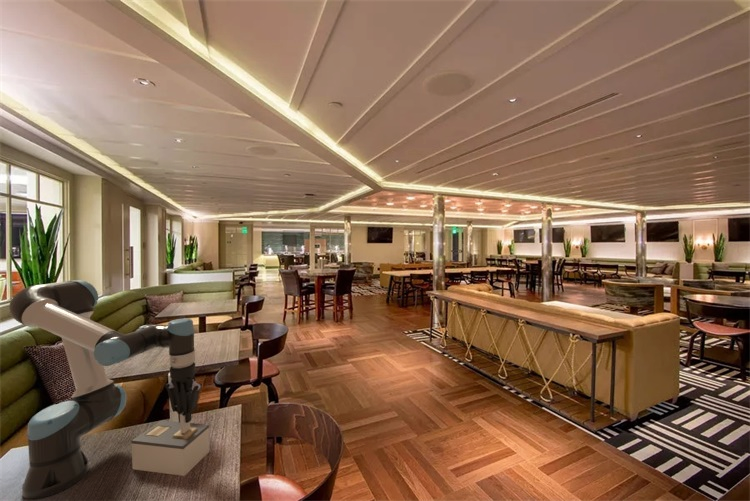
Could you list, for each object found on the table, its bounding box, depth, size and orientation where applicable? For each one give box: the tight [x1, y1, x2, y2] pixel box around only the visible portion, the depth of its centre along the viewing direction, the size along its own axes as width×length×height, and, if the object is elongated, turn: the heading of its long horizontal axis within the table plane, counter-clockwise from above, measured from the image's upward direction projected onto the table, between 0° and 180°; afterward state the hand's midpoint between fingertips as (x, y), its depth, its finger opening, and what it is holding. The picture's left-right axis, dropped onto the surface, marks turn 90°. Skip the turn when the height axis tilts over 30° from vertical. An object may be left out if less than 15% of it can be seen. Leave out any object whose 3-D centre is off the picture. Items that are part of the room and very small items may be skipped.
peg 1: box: [146, 426, 170, 437], centre depth 111 cm, size 5×5×8 cm
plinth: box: [130, 419, 211, 477], centre depth 110 cm, size 20×12×10 cm, turn 80°
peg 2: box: [173, 427, 197, 440], centre depth 109 cm, size 5×5×8 cm
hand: (185, 430), depth 109 cm, fingers closed
